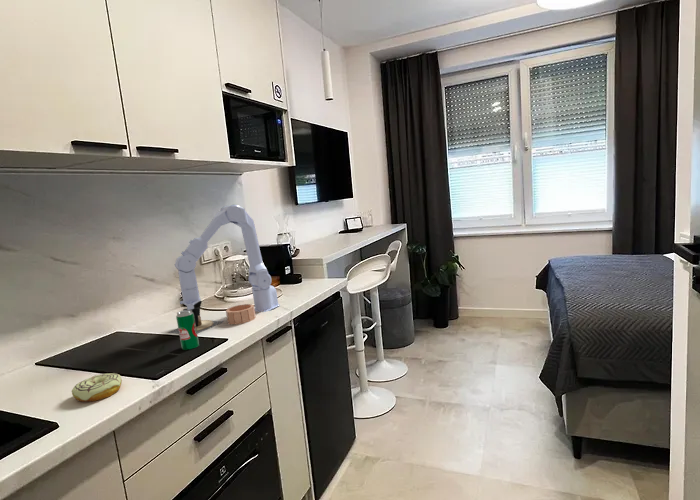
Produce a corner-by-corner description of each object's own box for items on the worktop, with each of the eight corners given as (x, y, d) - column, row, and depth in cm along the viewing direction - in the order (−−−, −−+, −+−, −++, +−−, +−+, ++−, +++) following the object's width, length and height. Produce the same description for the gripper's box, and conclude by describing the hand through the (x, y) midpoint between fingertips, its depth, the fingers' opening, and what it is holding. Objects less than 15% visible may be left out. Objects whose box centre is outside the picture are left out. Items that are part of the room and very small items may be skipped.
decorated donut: (83, 409, 93) (79, 394, 92) (68, 398, 100) (65, 384, 99) (130, 389, 101) (127, 375, 100) (113, 380, 107) (110, 367, 107)
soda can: (178, 350, 125) (171, 313, 123) (191, 344, 129) (185, 308, 127) (189, 352, 122) (183, 314, 121) (202, 345, 127) (196, 309, 125)
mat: (198, 321, 157) (198, 319, 157) (224, 322, 150) (224, 321, 150) (167, 333, 145) (167, 332, 144) (194, 336, 138) (194, 334, 138)
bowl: (241, 316, 156) (239, 303, 156) (261, 317, 152) (259, 304, 151) (222, 324, 148) (220, 311, 147) (242, 326, 143) (240, 312, 142)
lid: (198, 320, 155) (196, 312, 155) (220, 322, 149) (218, 313, 149) (171, 331, 145) (169, 322, 144) (194, 333, 139) (192, 323, 139)
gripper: (180, 286, 151) (186, 321, 153) (175, 294, 137) (182, 331, 139) (199, 283, 153) (205, 317, 155) (196, 290, 139) (203, 327, 141)
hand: (195, 324), depth 147 cm, fingers open, 7 cm apart
